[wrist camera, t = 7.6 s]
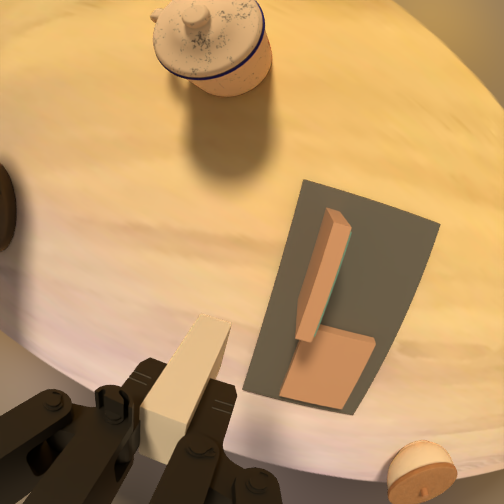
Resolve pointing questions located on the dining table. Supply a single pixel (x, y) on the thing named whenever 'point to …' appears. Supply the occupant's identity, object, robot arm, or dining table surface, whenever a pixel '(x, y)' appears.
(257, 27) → the teacup with lid
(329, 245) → the tile near
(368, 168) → the dining table surface
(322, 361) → the tile far
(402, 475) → the lidded jar
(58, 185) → the dining table surface
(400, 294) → the mat
